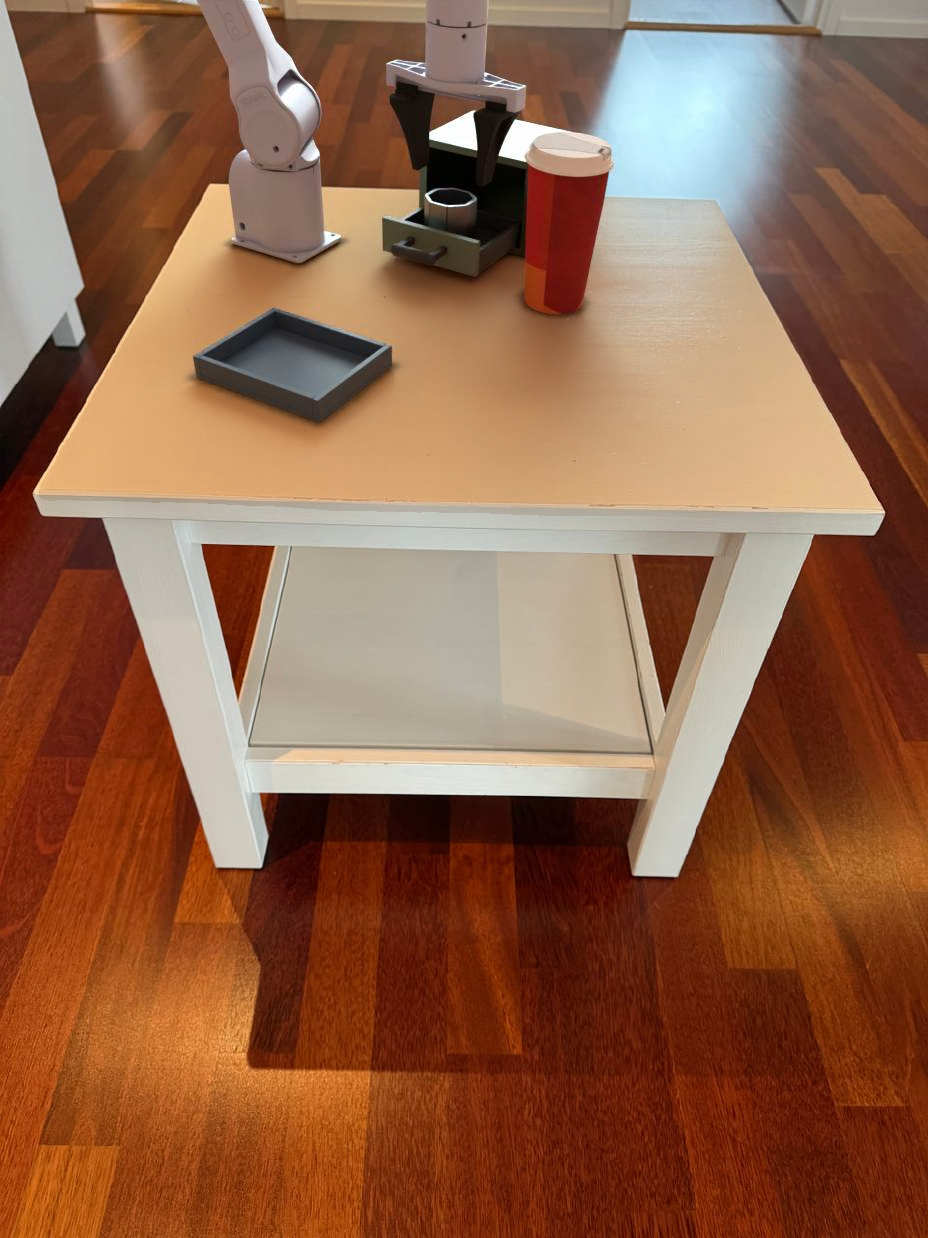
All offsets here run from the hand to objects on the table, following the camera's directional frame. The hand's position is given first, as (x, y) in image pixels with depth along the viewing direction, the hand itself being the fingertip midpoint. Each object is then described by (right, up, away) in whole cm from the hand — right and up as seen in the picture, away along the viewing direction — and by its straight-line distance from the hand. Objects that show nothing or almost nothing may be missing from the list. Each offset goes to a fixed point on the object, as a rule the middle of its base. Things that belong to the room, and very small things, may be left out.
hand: (451, 174), depth 94 cm
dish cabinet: (+5, 0, +13) cm, 14 cm away
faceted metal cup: (0, -5, +5) cm, 7 cm away
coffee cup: (+10, -13, 0) cm, 17 cm away
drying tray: (-14, -24, -13) cm, 30 cm away
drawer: (-1, -6, +5) cm, 8 cm away
